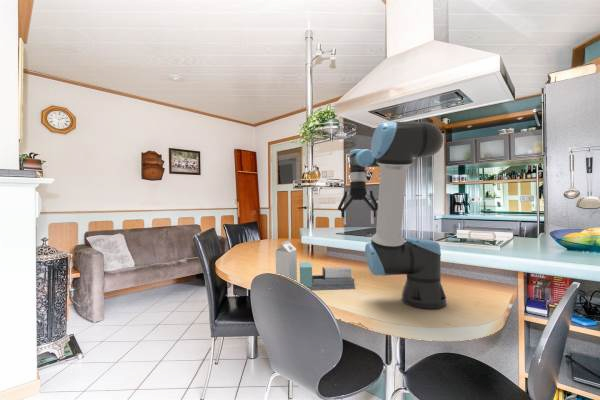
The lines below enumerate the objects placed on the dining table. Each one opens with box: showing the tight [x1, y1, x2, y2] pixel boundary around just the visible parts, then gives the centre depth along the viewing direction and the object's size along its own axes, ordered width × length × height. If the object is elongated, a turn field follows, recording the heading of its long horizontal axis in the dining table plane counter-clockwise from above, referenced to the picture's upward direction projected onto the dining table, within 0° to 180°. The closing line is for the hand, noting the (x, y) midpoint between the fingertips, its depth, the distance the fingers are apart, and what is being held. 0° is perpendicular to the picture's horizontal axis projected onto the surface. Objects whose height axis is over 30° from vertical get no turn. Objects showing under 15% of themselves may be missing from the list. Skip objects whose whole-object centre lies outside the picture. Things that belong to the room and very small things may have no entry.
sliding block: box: [321, 266, 352, 279], centre depth 130 cm, size 4×12×6 cm, turn 91°
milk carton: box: [275, 240, 298, 282], centre depth 137 cm, size 7×7×19 cm
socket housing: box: [299, 261, 313, 287], centre depth 130 cm, size 9×5×8 cm, turn 1°
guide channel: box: [307, 274, 356, 291], centre depth 130 cm, size 9×23×4 cm, turn 91°
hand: (358, 224), depth 147 cm, fingers open, 13 cm apart
